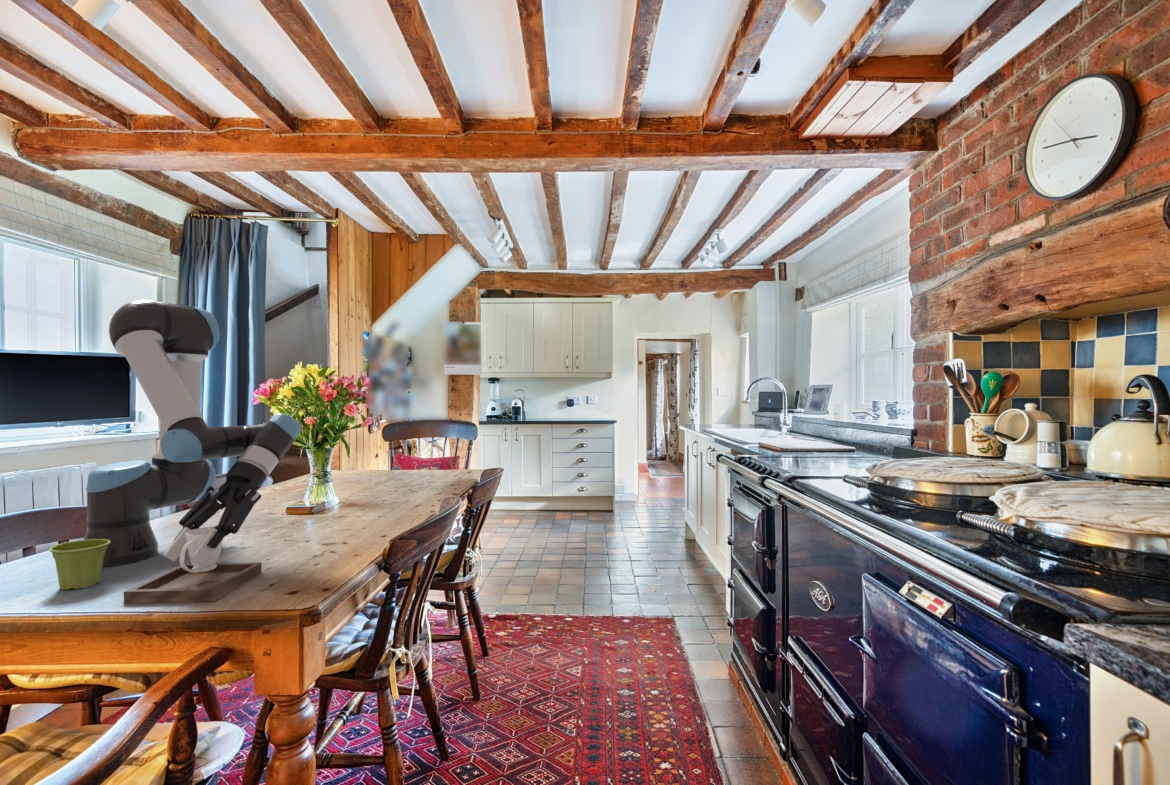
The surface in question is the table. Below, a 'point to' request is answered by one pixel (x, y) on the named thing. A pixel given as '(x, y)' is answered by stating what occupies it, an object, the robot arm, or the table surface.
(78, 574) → the plant pot
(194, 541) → the cup
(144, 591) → the tray
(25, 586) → the table surface
